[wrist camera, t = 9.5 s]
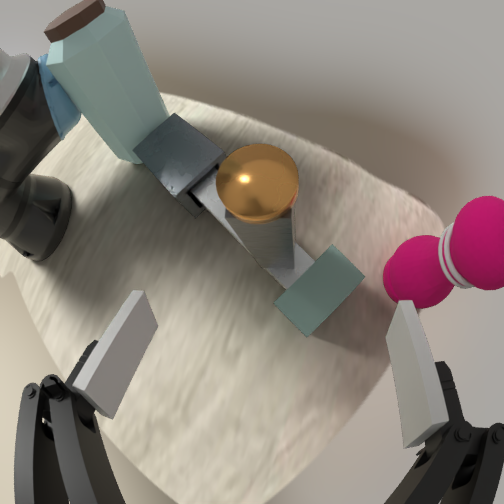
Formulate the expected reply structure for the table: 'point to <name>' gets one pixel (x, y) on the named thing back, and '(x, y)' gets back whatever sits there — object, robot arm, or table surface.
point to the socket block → (319, 290)
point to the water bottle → (105, 75)
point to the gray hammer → (258, 207)
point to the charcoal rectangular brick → (179, 158)
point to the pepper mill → (451, 257)
